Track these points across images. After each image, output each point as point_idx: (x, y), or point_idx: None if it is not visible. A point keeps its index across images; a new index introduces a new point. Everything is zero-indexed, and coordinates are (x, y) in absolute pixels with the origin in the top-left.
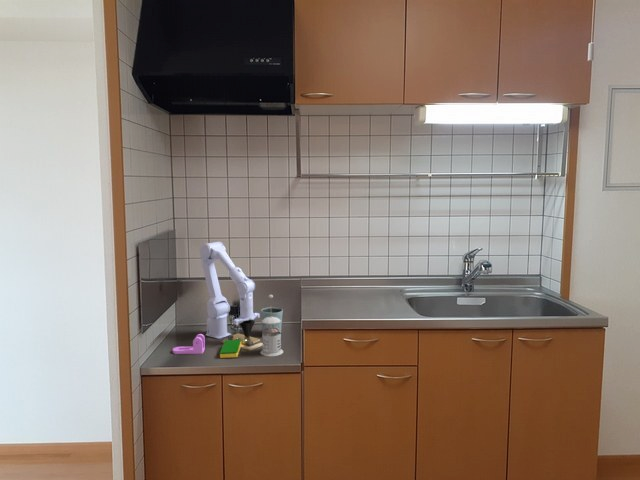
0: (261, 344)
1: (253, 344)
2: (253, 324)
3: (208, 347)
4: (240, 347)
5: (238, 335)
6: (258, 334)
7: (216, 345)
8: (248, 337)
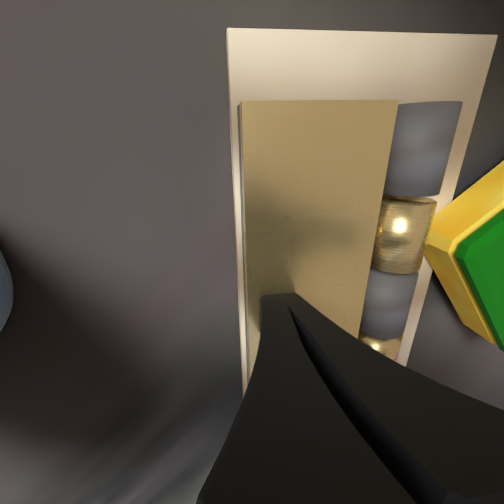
0: (279, 30)
1: None
2: (238, 441)
3: (497, 378)
4: (494, 169)
5: None
6: (39, 365)
7: (448, 375)
8: (286, 288)
